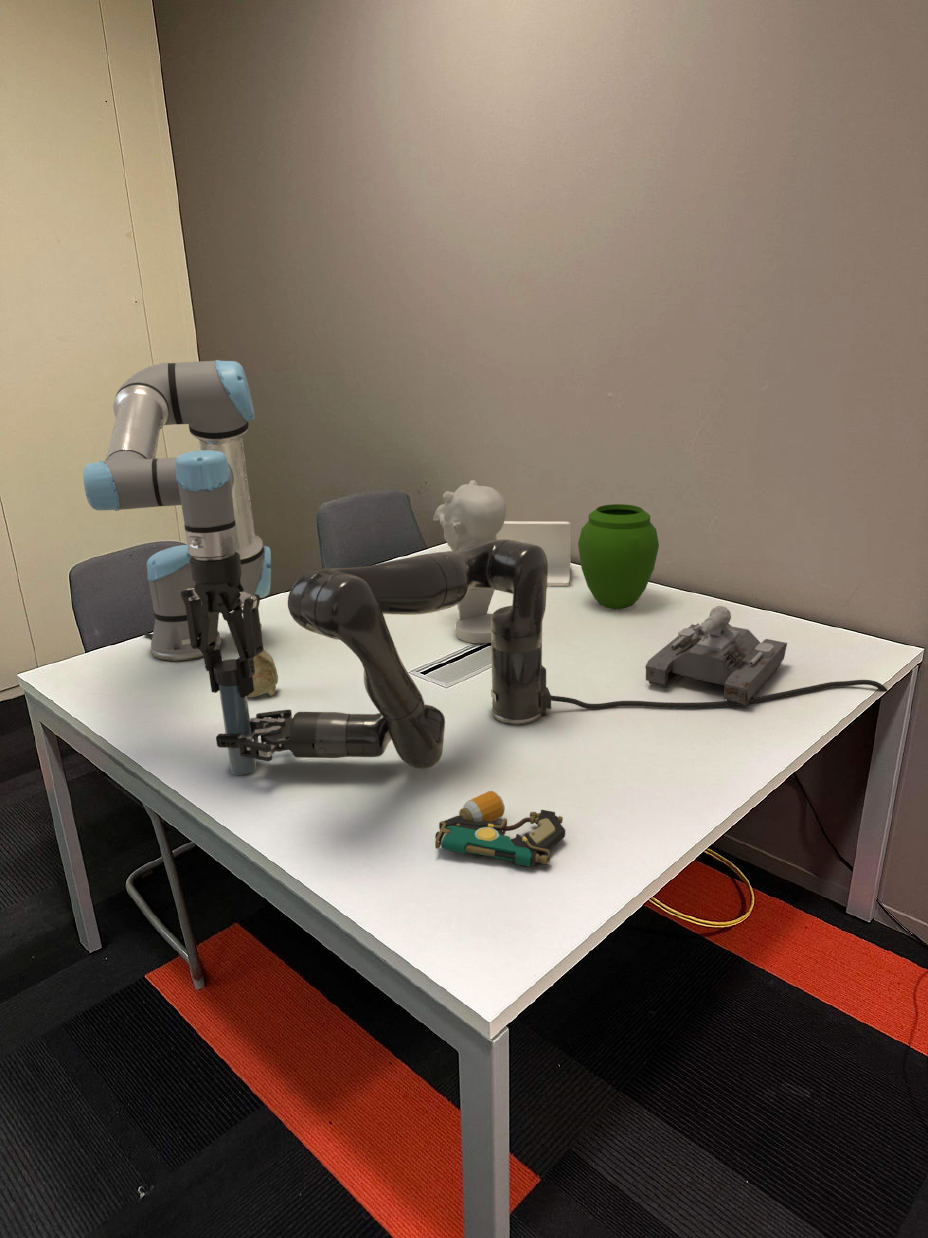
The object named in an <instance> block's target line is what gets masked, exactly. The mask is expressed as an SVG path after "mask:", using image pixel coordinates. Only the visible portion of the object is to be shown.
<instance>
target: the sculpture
mask: <svg viewBox="0 0 928 1238" xmlns="http://www.w3.org/2000/svg"><path fill="white" fill-rule="evenodd" d="M260 626H261V633H262V634H263V630H262V629H263V628H262V627H263V625H262V623H261V622H260ZM263 649H264V651H263V652H261V653H260V654H258V655H257V656H255V657H254V658H253V659H254V667H255V674H254V675H253V676H252V677H253V685H254V692H252V693H251V694H249V695H248V696H247V698H254V697H258V696H261V695H264V694H268V696H273V695H275V693H276V690H277V684H278V681H279V675H278V670H277V667H276V664H275V661H274V658H273V657H272V655H271V654H270V653H269V652H268V651H267V650H266V649H265V648H264V647H263Z"/></svg>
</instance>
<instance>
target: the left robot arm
mask: <svg viewBox="0 0 928 1238" xmlns="http://www.w3.org/2000/svg"><path fill="white" fill-rule="evenodd" d="M113 414H114V416H115V420H114V424H113V428H112V433H111V437H110V441H109V443H108V448H107V452H106V456H105V459H104V460H99V461H96V462H90V463H88V464H85V467H84V469H83V474H82V475H83V477H82V478H83V486H84V492H85V496H86V500H87V503H88V504H89V506H90V508H92V510H95V511H115V512H117V511H118V512H119V511H122V510H135V509H145V508H146V509H147V508H157V507H173V506H174V507H175V506H181V511H182V512H181V513H182V516H183V522H184V525H183V526H184V533H185V539H186V544H181V545H176V546H171V547H167V548H165V549H162V550H160V551H158V552H155V553H154V554H153V555H151V556H149V558H148V559H147V561H146V572H147V573H146V574H147V578H146V579H147V581H148V586H149V591H150V597H151V603H152V609H153V615H154V626H153V631H152V633H150V632H147V631H144V632H143V636H144V637H147V638H150V639H151V642H150V650H151V654H152V656H153V657H154V658H156V659H158V660H162V661H169V662H181V661H190V660H195V659H200V658H203V662H204V669H205V671H206V672H208V677H209V683H210V690H211V693H214V694H215V693H218V692H220V691H219V684H218V683H216V680H215V677H214V665H215V664H216V663H218V662H220V661H223V656H222V650H221V649H220V648H221V646H222V638H221V637H222V636H221V634H220V632H219V630H218V629H219V619H220V618H219V617H220V614H221V616H222V619H223V620H224V621H226V624H227V627H228V629H229V632H230V634H231V635H230V636H231V638H232V640H233V643H234V646H235V649H236V651H237V654H238V657H237V658H235V659H236V660H235V661H236V668H237V676H238V683H239V691H240V697H242V698H245V697H246V696H248V695H249V694H251V693H252V692H254V685H253V677H252V676H253V675H254V674H255V667H254V659H253V658H254V657H255V656H257V655H258V654H260V653H261V652H263V651H264V650H265V648H264V642H263V632H262V633H261V626H260V623H261V620H260V611H259V608H260V607H259V606H260V603H261V599H263V598H266V597H267V596H269V594H270V592H271V585H272V584H271V582H272V567H271V566H272V553H271V551H272V550H271V547H269V546H266V545H264V542H263V539H262V538H261V537H260V536H258V535H257V534H256V533H255V526H254V524H255V523H254V516H253V509H252V502H251V501H252V500H251V493H250V486H249V478H248V472H247V471H248V469H247V463H246V454H245V448H244V446H245V445H244V438H243V437H244V435H245V434H246V433H247V432H248V431H249V429H250V427H249V426H250V425H249V422H252V421H254V420H255V418H256V415H255V409H254V404H253V400H252V393H251V390H250V385H249V382H248V379H247V375H246V372H245V369H244V367H243V365H241V363H240V362H238V361H235V360H219V359H215V360H203V361H200V360H199V361H186V362H185V361H184V362H162V363H155V364H153V365H150V366H147V367H145V368H143V369H141V370H139V371H137V372H136V373H135V374H133V375H132V376H130V377H129V378H128V379H127V380H125V381H124V383H123V384H122V385H121V386H120V387H119V389H118V390H117V392H116V394H115V397H114V400H113ZM171 425H188V429H189V434H190V435H191V436H193V437H194V438H195V439H197V440H198V444H199V449H200V450H193V451H192V450H191V451H187V452H184V453H181V454H179V455H178V456H176V457H162V458H157V457H156V456H157V452H158V451H157V450H158V444H159V437H160V433H161V430H162V429H163V428H164V427H165V426H171ZM263 648H264V649H263Z"/></svg>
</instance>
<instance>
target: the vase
mask: <svg viewBox="0 0 928 1238" xmlns="http://www.w3.org/2000/svg"><path fill="white" fill-rule="evenodd" d="M587 516H588V517H587V518H588V521H587V522H586V523H585V524H584V525H583V526H582V527H581V529H580V534H579V538H578V541H577V546H578V554H579V562H580V569H581V571H582V574H583V577H584V580H585V583H586V585H587V588H588V590H589V591H590V594H592V597H593V598H594V600H595V601H596V602H597V603H598V604H599V605H600V606H602V607H604V608H606V609H609V610H625V609H628V608H630V607H632V606H634V604H636V602H638V601H639V599H640V597H641V596H642V595H643V593H644V592H645V590H646V588H647V586H648V584H649V581H650V579H651V577H652V574H653V572H654V570H655V566H656V562H657V557H658V552H659V548H660V544H659V543H660V542H659V537H658V531H657V528H656V527H655V526H654V524H653V523H652V522H651V515H650V514H649V512H647V511H645V510H644V509H643V508H642V507H641V506H638V505H633V504H622V503H621V504H619V503H616V504H615V503H614V504H604V505H601V506H598V507H597V508H595V509H594V510H592V511H591V512H590V513H589V514H588V515H587Z"/></svg>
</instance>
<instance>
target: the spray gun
mask: <svg viewBox="0 0 928 1238" xmlns="http://www.w3.org/2000/svg"><path fill="white" fill-rule="evenodd" d="M505 807H506V806H505V804H504V800H503V799H502V797H501V796H500V795H499V794H498V793H497V792H496V791H493V790H488V791H486V792H484V793H482V794H480V795H477V796H475V797H473V798H470V799H468V800H467V801H466V802H465V803H464V804H463V807H462V808H461V809H460V810H459V812H458V815H456V816H455V815H454V816H453V817H450V818H448V819H445V820H442V821H439V823H438V829H439V831H437V832H435V835H434V838H435V841H434V848H435V849H437V850H439V849H440V848H441V849H442V850H447V851H452V852H457V853H460V854H461V853H462V854H468V853H469V854H473V855H479V856H484V857H488V858H489V857H490V858H495V859H500V860H505V861H511V862H512V863H515V865H520V866H524V867H531V866H535V864H536V863H540V864H543V865H547V864H548V863H550V862H551V859H552V855H551V851H550V850H551V849H552V848H554V847H555V846H556V845H558V843H559V842H561V841H562V840H563V839H564V838H566V828H565V827H564V826H563V825H562V823H563V821H564V820H563V819H564V818H563V817H564V816H561V815H558V816H557V815H556V812H555V811H552V810H546V809H540V812H537V811H530V812H529V816H528V817H524V818H522V819H521V820H519V821H518V822H517V823H515V824H511V825H508V819H507V818H506V817H504V818H503V819H502V821H501V823H499V822H495V821H496V820H499V819H501V818H502V817H503V816H504V812H505V809H506V808H505ZM526 823H529V824H530V825H534V824H535V825H536V828H535V829H534V830H532V831H530V833H527V832H526V833H524V836H523V837H522V836H521V835H520V834H519V833H516V834H515V837H513V838H511V837H510V836H507V835H506V833H507V832H512V831H514V830H515V831H516V830H517V829H519V828H521V827H522V826H524V825H525V824H526ZM546 853H547V855H546Z"/></svg>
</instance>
